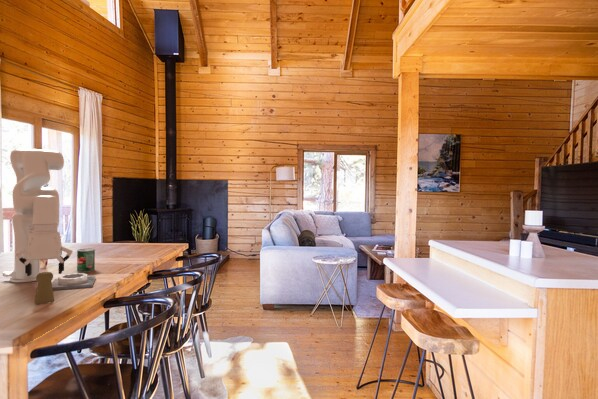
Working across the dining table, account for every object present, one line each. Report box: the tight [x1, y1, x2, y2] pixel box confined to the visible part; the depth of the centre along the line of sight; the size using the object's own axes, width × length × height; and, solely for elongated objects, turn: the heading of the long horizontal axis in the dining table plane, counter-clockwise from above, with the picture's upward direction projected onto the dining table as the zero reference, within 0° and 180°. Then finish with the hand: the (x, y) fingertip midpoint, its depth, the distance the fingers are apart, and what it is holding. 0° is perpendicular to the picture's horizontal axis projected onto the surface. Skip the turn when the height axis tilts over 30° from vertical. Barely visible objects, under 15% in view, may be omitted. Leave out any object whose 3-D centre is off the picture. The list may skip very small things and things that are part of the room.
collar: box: [51, 272, 96, 291], centre depth 158 cm, size 16×16×4 cm
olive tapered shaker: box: [34, 271, 55, 305], centre depth 133 cm, size 6×6×11 cm
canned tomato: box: [76, 248, 96, 273], centre depth 184 cm, size 8×8×11 cm
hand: (45, 274), depth 133 cm, fingers open, 9 cm apart
